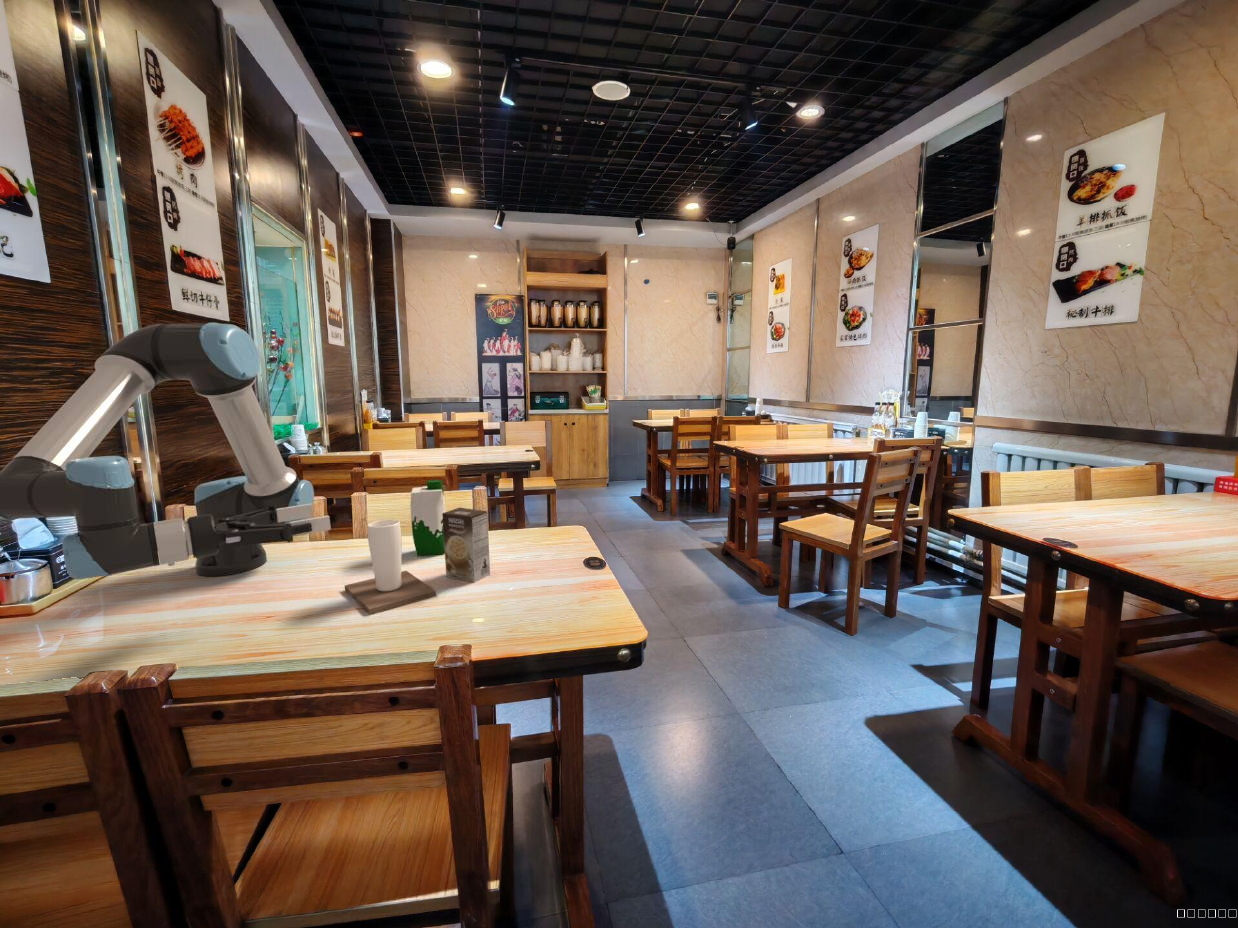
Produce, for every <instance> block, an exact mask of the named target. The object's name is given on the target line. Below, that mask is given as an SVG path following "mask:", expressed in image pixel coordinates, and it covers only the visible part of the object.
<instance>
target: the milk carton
mask: <svg viewBox="0 0 1238 928" xmlns="http://www.w3.org/2000/svg"><path fill="white" fill-rule="evenodd" d="M444 493H445V492H444V487H443V480H442V479H429V480H426V486H425V485H424V486H420V487H412V489H411V493H410V518H411V520H410V521H411V531H412V532H411V534H412V540H413V543H414V549H415V552H416V556H417V558H419V556H421V557H429V556H438V555H445V548H444V532H443V516H442V513H445V512H447V511H446V503H445V496H444Z"/></svg>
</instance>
